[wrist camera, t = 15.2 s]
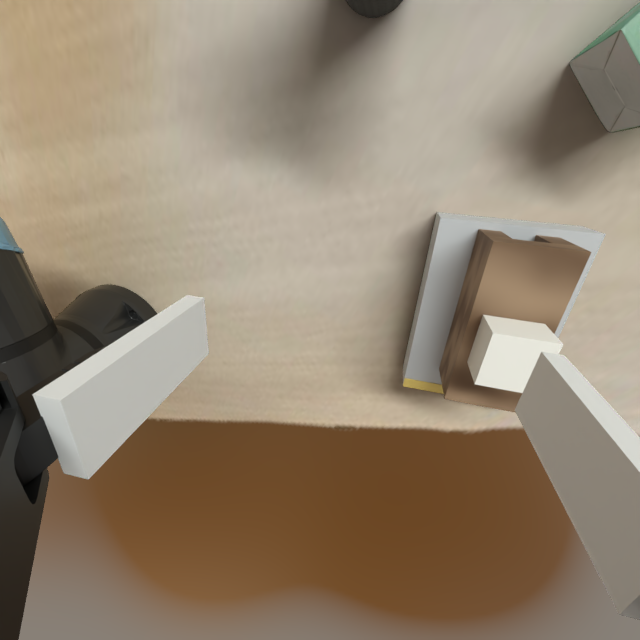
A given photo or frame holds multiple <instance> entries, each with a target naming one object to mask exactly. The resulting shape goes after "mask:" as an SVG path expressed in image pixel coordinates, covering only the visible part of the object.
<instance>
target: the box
mask: <svg viewBox="0 0 640 640" xmlns="http://www.w3.org/2000/svg"><path fill="white" fill-rule="evenodd" d="M570 67H571V69H572V71H573V73H574V74H575V76H576V78H577V80H578V82H579V84H580V85H581V87H582V89H583V91H584V93H585V95H586V96H587V98H588V100H589V102H590V104H591V106H592V107H593V109H594V111H595V113H596V115H597V116H598V118H599V119H600V121H601V122H602V124H603V126H604V127H605V129H606V130H608V131H609V132H612V133H613V132H617V131H622V130H627V129H632V128H637V127H640V3H638V4H637V5H636V6H635V7H633V8H632V9H631V10H630V11H629V12H628V13H626V14H625V15H624V16H623V17H622V18H621V19H619V20H618V21H617V22H616V23H615V24H614V25H612V26H611V27H610V28H609V29H608V30H606V31H605V32H604V33H603V34H602V35H600V36H599V37H598V38H597V39H596V40H594V41H593V42H592V43H591V44H590V45H588V46H587V47H586V48H585V49H584V50H583V51H581V52H580V53H579V54H578V55H577V56H576V57H575V58H574V59H572V60H571V61H570Z"/></svg>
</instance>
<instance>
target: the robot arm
mask: <svg viewBox="0 0 640 640" xmlns="http://www.w3.org/2000/svg"><path fill="white" fill-rule="evenodd" d="M23 253H24V252H23V250H22V249H21V248H19V247H18V245H17V243H16V242H15V240H14V238H13V236H12V234H11V232H10V231H9V229H8V227H7V225H6V223H5V222H4V220H3V219H2V218H1V217H0V640H18V639H19V634H20V628H21V622H22V618H23V612H24V607H25V602H26V597H27V591H28V586H29V581H30V576H31V571H32V565H33V560H34V555H35V550H36V544H37V539H38V534H39V529H40V524H41V518H42V513H43V508H44V503H45V497H46V492H47V487H48V481H49V473H48V470H47V467H48V466H49V465H50V464H52V463H53V462H54V461H55V460H56V459H57V458H58V460H59V462H60V464H61V467H62V470H63V472H64V473H65V474H69V475H73V476H77V477H81V478H85V479H89V478H90V477H91V476H92V475H93V474H94V473H95V472H96V471H97V470H98V469H99V468H100V467H101V466H102V465H103V463H105V461H106V460H107V459H108V458H109V457H110V456H111V455H112V454H113V453H114V452H115V451H116V450H117V449H118V448H119V447H120V446H121V445H122V444H123V443H124V442H125V441H126V440H127V438H128V437H129V436H130V435H131V434H132V433H133V432H134V431H135V430H136V429H137V428H138V427H139V426H140V425H141V424H142V423H143V422H144V421H145V420H146V419H147V418H148V417H149V416H150V414H151V413H152V412H153V411H154V410H155V409H156V408H157V407H158V406H159V405H160V404H161V403H162V402H163V401H164V400H165V399H166V398H167V397H168V396H169V395H170V394H171V393H172V392H173V390H174V389H175V388H176V387H177V386H178V385H179V384H180V383H181V382H182V381H183V380H184V379H185V378H186V377H187V376H188V375H189V374H190V373H191V372H192V371H193V370H194V369H195V367H196V366H197V365H198V364H199V363H200V362H201V361H202V360H203V359H204V358H205V357H206V356H207V355H208V354H209V349H208V337H207V325H206V314H205V302H204V298H203V297H197V296H191V295H186V296H185V297H183V298H182V299H180V300H179V301H177V302H175V303H174V304H172V305H171V306H169V307H168V308H166V309H165V310H163V311H161V312H160V313H158V314H157V313H156V312H155V311H154V309H153V308H152V307H151V306H150V305H149V304H148V303H147V302H146V301H145V300H144V299H142V298H141V297H140V296H139V295H137V294H136V293H134V292H132V291H130V290H128V289H126V288H123V287H120V286H116V285H101V286H97V287H95V288H92V289H90V290H87V291H85V292H83V293H82V294H80V295H79V296H78V297H77V298H76V299H75V300H74V301H73V302H72V303H71V304H70V305H69V306H68V307H66V308H65V309H64V310H63V311H62V312H61V313H60V314H59V315H58V316H57V317H56V318H55V319H52V316H51V314H50V312H49V310H48V308H47V306H46V304H45V302H44V300H43V297H42V295H41V293H40V291H39V289H38V287H37V284H36V282H35V280H34V278H33V276H32V273H31V271H30V269H29V267H28V265H27V263H26V260H25V258H24V256H23ZM515 412H516V414H517V416H518V418H519V420H520V422H521V423H522V425H523V427H524V429H525V431H526V433H527V435H528V437H529V439H530V441H531V443H532V445H533V447H534V449H535V451H536V453H537V455H538V457H539V459H540V460H541V463H542V464H543V467H544V469H545V470H546V472H547V474H548V476H549V478H550V480H551V482H552V484H553V486H554V488H555V490H556V492H557V494H558V496H559V498H560V500H561V502H562V504H563V506H564V508H565V509H566V512H567V513H568V515H569V517H570V519H571V521H572V523H573V525H574V527H575V529H576V531H577V533H578V535H579V537H580V539H581V541H582V543H583V545H584V547H585V549H586V550H587V553H588V554H589V557H590V559H591V560H592V562H593V564H594V566H595V568H596V570H597V572H598V574H599V576H600V578H601V580H602V582H603V584H604V586H605V588H606V590H607V592H608V594H609V596H610V598H611V600H612V602H613V603H614V606H615V607H616V609H617V611H618V613H619V615H622V616H626V617H630V618H634V619H638V620H640V437H639V436H638V435H637V434H636V433H635V432H634V431H633V430H632V428H631V427H630V426H629V425H628V424H627V423H626V422H625V421H624V420H623V419H622V418H621V416H620V415H619V414H618V413H617V412H616V411H615V410H614V409H613V408H612V407H611V406H610V404H609V403H608V402H607V401H606V400H605V399H604V398H603V397H602V396H601V395H600V394H599V393H598V391H597V390H596V389H595V388H594V387H593V386H592V385H591V384H590V383H589V382H588V381H587V379H586V378H585V377H584V376H583V375H582V374H581V373H580V372H579V371H578V370H577V369H576V367H575V366H574V365H573V364H572V363H571V362H570V361H569V360H568V359H567V358H566V357H565V356H564V355H559V354H553V353H547V352H541V354H540V356H539V358H538V360H537V362H536V365H535V367H534V369H533V371H532V373H531V376H530V378H529V380H528V382H527V384H526V386H525V389H524V391H523V393H522V395H521V397H520V399H519V402H518V404H517V406H516V408H515Z"/></svg>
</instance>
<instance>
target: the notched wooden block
mask: <svg viewBox="0 0 640 640" xmlns="http://www.w3.org/2000/svg"><path fill="white" fill-rule="evenodd" d="M590 254H591V252H590V251H588V250H586V249H584V248H582V247H579V246H577V245H575V244H573V243H571V242H569V241H567V240H564V239H562V238H560V237H550V236H541V235H536V237H535V240H534V241H527V240H518V239H512V238H511V237H509V236H508V235H506V234H505V233H503V232H502V231H494V230H484V229H478V233H477V236H476V240H475V244H474V247H473V251H472V254H471V258H470V261H469V265H468V268H467V272H466V275H465V279H464V282H463V286H462V289H461V293H460V296H459V300H458V303H457V307H456V310H455V314H454V317H453V321H452V324H451V328H450V332H449V335H448V339H447V342H446V346H445V349H444V353H443V356H442V360H441V363H440V367H439V372H440V377H441V382H442V388H443V393H444V398H445V399H448V400H453V401H459V402H464V403H469V404H474V405H479V406H485V407H490V408H495V409H500V410H505V411H511V412H515V408H516V406H517V404H518V402H519V399H520V397H521V395H522V393H519V392H513V391H508V390H503V389H497V388H492V387H486V386H481V385H476V384H474V381H473V378H472V375H471V372H470V369H469V366H468V363H467V361H468V358H469V355H470V352H471V349H472V346H473V343H474V340H475V337H476V334H477V331H478V328H479V325H480V322H481V319H482V316H483V315H489V316H495V317H502V318H509V319H515V320H522V321H528V322H535V323H542V324H546V326H547V327H548V328H549V329H550V330H551V331H552V332H553V333H554V334H555V332H556V330H557V327H558V325H559V323H560V321H561V319H562V316H563V314H564V312H565V310H566V308H567V305H568V303H569V301H570V299H571V296H572V294H573V292H574V290H575V288H576V285H577V283H578V281H579V279H580V277H581V274H582V272H583V270H584V268H585V266H586V263H587V261H588V259H589V257H590Z"/></svg>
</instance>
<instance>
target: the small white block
mask: <svg viewBox="0 0 640 640" xmlns="http://www.w3.org/2000/svg"><path fill="white" fill-rule="evenodd" d="M562 346H563V343H562V342H561V341H560V340H559V339H558V338H557V337H556V336H555V334H554V333H553V332H552V331H551V330H550V329H549V328H548V327H547V326H546V324H542V323H535V322H528V321H522V320H515V319H509V318H502V317H495V316H489V315H483V316H482V319H481V322H480V325H479V328H478V331H477V334H476V337H475V340H474V343H473V346H472V349H471V352H470V355H469V358H468V361H467V363H468V366H469V369H470V372H471V375H472V378H473V381H474V384H476V385H481V386H486V387H492V388H497V389H503V390H508V391H513V392H519V393H523V391H524V389H525V386H526V384H527V382H528V380H529V378H530V376H531V373H532V371H533V369H534V367H535V365H536V362H537V360H538V358H539V356H540V354H541V352H547V353H553V354H559V352H560V350H561V348H562Z"/></svg>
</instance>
